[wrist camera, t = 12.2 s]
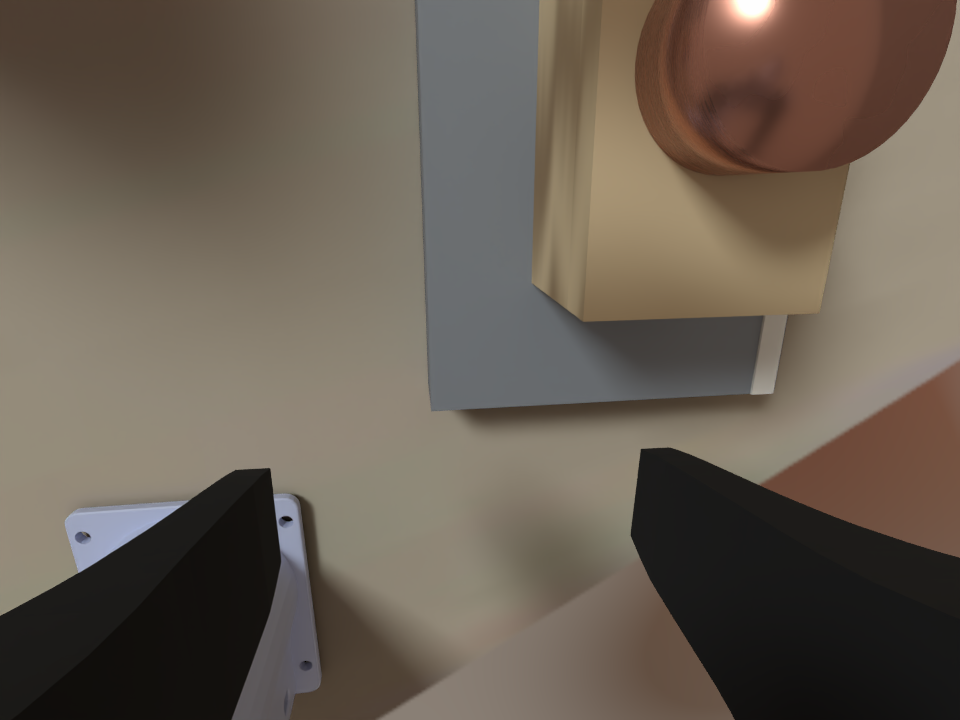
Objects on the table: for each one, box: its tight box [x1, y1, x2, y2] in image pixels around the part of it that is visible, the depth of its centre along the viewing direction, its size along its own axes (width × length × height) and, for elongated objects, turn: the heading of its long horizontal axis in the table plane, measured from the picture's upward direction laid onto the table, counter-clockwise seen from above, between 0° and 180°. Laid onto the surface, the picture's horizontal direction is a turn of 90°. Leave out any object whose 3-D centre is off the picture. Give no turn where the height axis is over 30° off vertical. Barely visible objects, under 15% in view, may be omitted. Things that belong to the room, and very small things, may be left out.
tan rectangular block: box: [532, 0, 850, 322], centre depth 12 cm, size 10×6×5 cm, turn 0°
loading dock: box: [415, 0, 788, 411], centre depth 16 cm, size 18×12×3 cm, turn 0°
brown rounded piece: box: [635, 0, 957, 176], centre depth 9 cm, size 4×4×2 cm
